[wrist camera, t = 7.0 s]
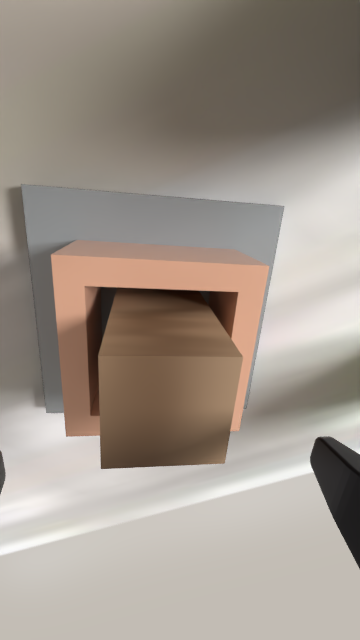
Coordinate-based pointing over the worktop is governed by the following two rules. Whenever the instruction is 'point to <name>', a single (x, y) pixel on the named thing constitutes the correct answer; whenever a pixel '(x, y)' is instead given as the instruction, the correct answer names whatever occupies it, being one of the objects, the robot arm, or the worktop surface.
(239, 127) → the worktop surface
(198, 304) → the walnut block
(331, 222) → the worktop surface
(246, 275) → the terracotta well
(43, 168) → the worktop surface
